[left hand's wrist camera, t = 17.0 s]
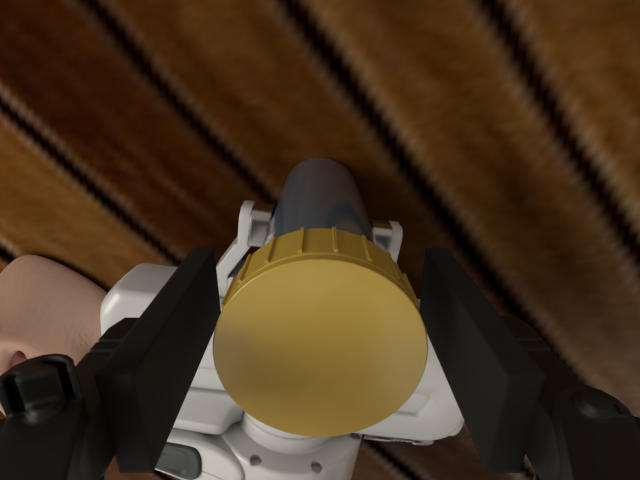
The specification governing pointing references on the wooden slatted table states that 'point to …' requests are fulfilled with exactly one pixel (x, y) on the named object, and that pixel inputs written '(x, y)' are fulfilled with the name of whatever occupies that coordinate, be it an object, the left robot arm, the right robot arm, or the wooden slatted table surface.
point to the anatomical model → (46, 311)
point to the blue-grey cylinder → (320, 201)
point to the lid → (320, 334)
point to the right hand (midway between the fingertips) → (321, 213)
